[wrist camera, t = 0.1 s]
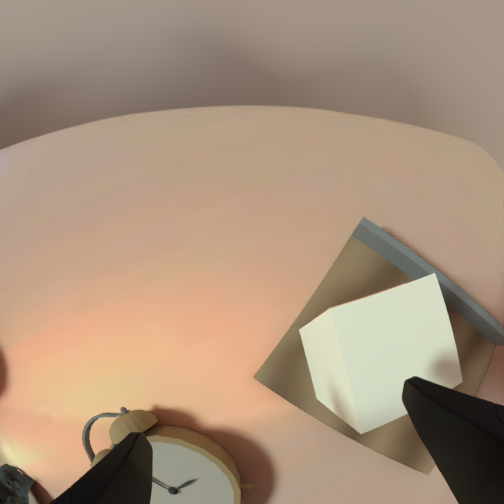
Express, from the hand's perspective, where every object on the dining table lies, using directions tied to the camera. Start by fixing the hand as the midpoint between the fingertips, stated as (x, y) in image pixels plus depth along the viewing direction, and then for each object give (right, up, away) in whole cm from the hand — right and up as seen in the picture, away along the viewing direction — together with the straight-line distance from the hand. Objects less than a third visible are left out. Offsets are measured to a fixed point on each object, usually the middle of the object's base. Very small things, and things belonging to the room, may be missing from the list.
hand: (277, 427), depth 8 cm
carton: (+7, -3, +13) cm, 15 cm away
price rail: (+17, +1, +16) cm, 23 cm away
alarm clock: (-9, -14, +11) cm, 20 cm away
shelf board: (+12, -5, +14) cm, 19 cm away
